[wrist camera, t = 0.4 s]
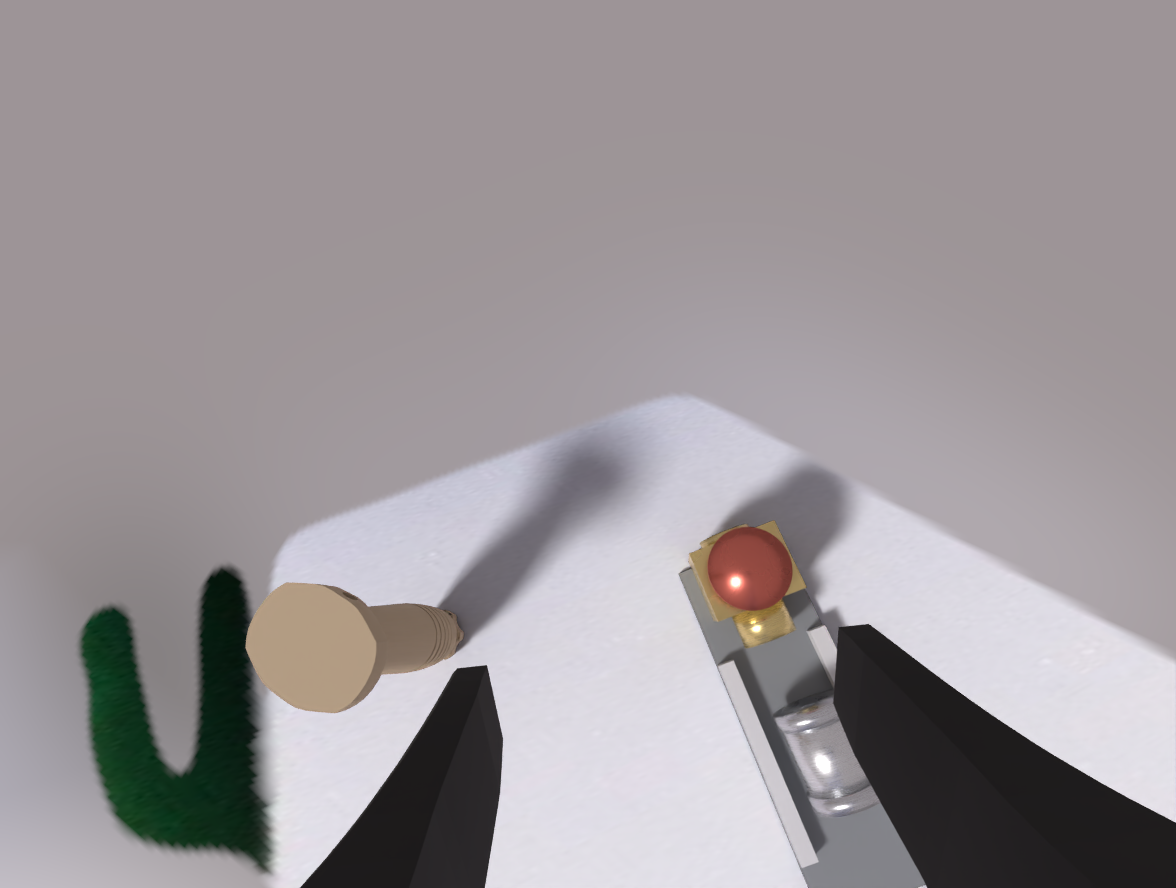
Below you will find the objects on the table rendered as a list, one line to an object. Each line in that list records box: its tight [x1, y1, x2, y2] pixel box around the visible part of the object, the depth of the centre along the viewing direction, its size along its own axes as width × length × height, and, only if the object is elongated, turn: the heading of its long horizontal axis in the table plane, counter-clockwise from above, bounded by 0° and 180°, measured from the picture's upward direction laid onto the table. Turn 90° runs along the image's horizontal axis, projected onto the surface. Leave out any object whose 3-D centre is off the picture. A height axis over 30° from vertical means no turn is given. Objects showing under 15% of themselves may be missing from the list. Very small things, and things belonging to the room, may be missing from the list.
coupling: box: [773, 690, 880, 817], centre depth 32 cm, size 5×4×4 cm
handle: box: [246, 583, 464, 713], centre depth 33 cm, size 5×6×15 cm
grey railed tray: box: [679, 569, 926, 888], centre depth 35 cm, size 20×7×1 cm, turn 21°
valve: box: [688, 520, 807, 648], centre depth 34 cm, size 7×5×7 cm
